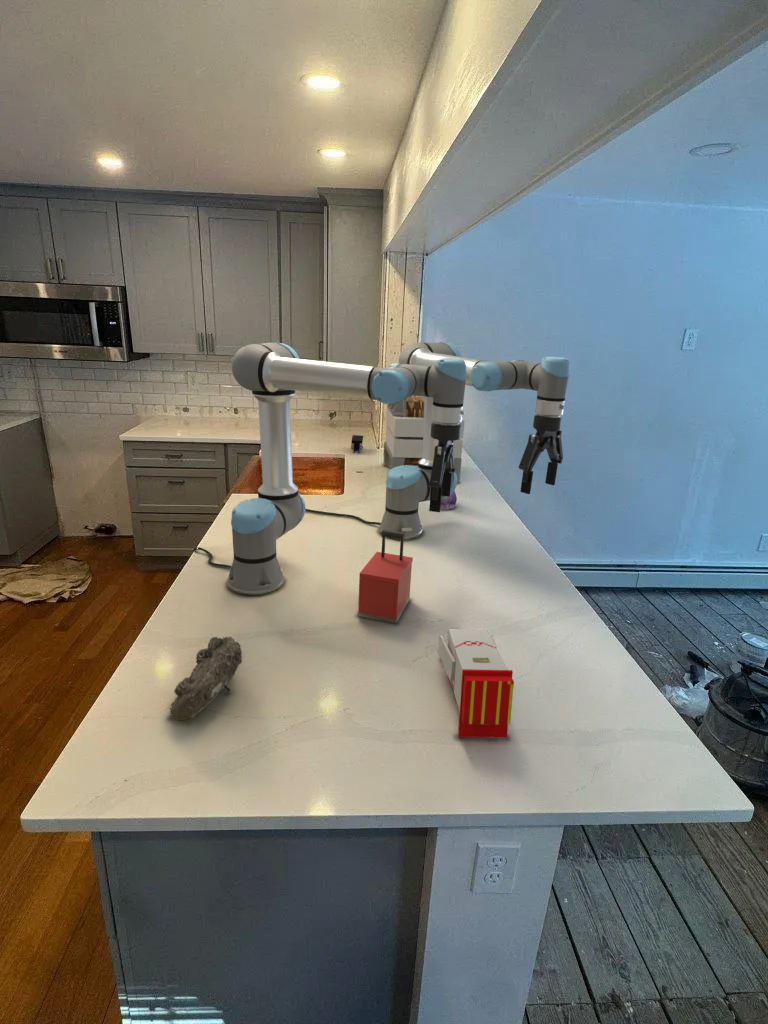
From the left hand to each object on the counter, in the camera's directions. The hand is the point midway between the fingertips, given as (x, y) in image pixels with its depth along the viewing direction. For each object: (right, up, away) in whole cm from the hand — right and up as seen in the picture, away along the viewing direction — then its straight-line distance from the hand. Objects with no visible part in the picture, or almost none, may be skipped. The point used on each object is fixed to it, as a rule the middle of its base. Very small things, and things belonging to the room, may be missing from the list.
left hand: (439, 503), depth 149 cm
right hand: (+30, +5, +15) cm, 34 cm away
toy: (+3, -40, -30) cm, 50 cm away
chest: (-14, -28, +2) cm, 31 cm away
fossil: (-50, -39, -33) cm, 71 cm away
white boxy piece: (+3, +17, +126) cm, 127 cm away
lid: (-14, -17, -1) cm, 22 cm away
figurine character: (-30, +31, +163) cm, 169 cm away
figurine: (+10, 0, +81) cm, 82 cm away
